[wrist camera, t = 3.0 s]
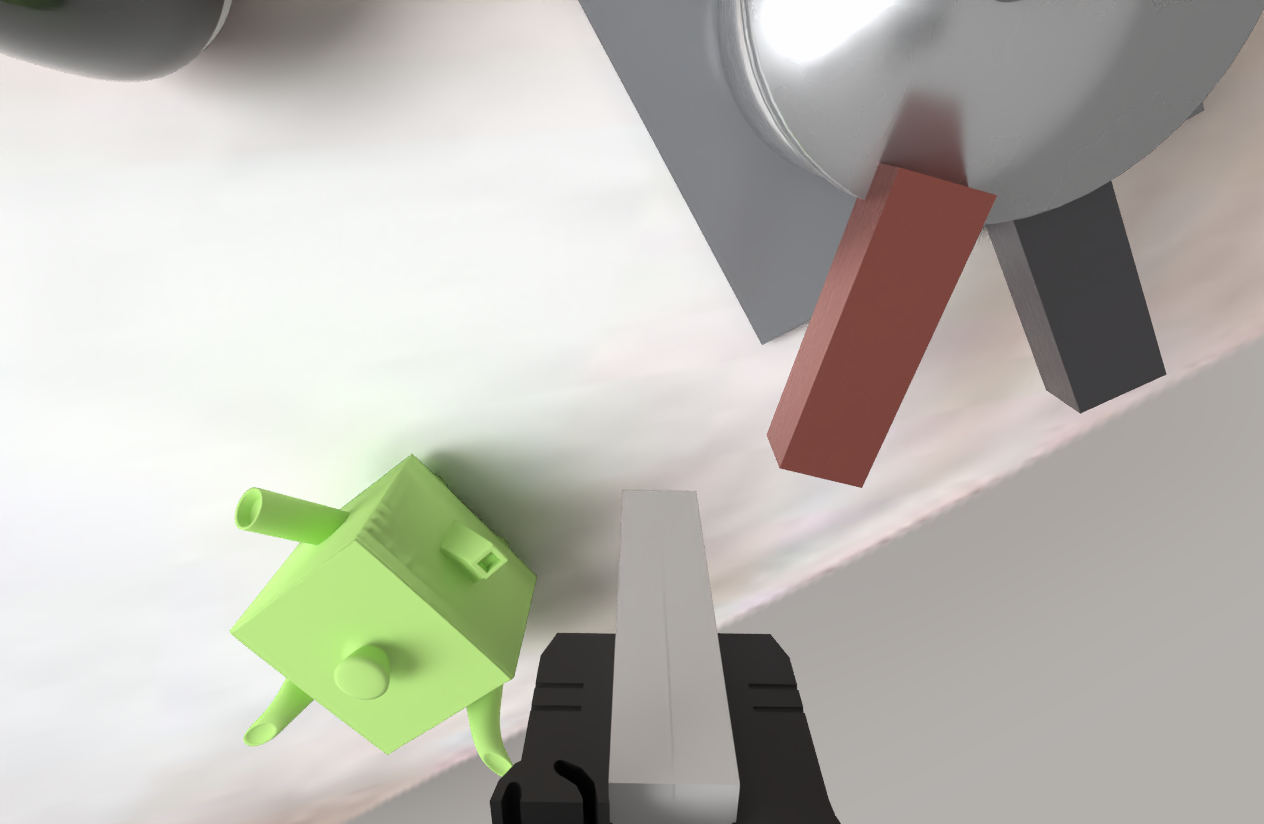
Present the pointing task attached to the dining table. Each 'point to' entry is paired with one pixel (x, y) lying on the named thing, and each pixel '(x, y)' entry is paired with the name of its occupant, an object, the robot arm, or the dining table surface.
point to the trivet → (725, 160)
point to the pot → (1023, 262)
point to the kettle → (388, 612)
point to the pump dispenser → (110, 35)
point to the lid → (954, 161)
